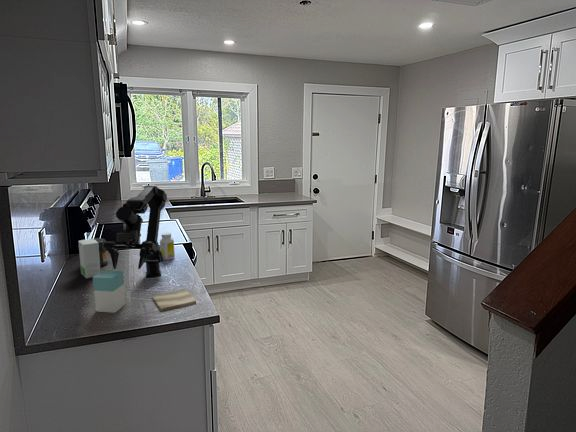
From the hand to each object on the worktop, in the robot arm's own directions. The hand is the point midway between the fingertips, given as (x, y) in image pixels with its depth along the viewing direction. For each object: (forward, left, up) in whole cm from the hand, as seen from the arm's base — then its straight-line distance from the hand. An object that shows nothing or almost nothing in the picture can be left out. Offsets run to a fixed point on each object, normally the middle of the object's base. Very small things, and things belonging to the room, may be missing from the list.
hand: (126, 268), depth 145 cm
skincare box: (-36, -16, -13) cm, 41 cm away
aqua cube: (+4, -6, -6) cm, 10 cm away
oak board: (+6, +16, -13) cm, 21 cm away
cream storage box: (+4, -6, -13) cm, 15 cm away
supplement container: (-50, -15, -13) cm, 54 cm away
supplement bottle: (-48, +18, -13) cm, 52 cm away
